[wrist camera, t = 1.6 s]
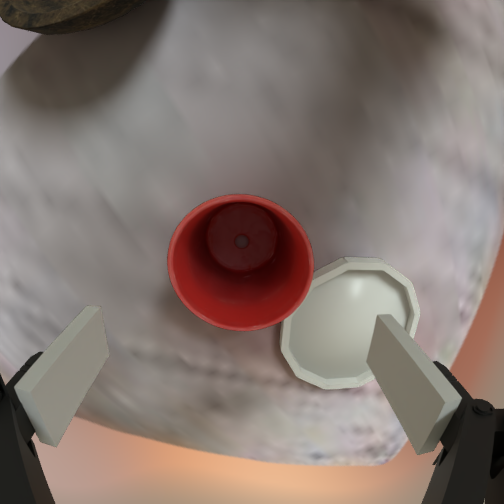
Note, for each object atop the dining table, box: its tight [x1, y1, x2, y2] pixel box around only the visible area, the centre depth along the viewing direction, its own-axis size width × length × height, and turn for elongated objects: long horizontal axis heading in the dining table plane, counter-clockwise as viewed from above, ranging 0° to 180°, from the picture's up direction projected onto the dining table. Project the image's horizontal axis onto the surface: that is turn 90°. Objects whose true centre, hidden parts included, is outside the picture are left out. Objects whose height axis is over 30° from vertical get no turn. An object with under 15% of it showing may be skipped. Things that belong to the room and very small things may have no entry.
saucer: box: [279, 257, 420, 390], centre depth 35 cm, size 17×17×2 cm
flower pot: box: [167, 194, 314, 331], centre depth 28 cm, size 11×11×10 cm
